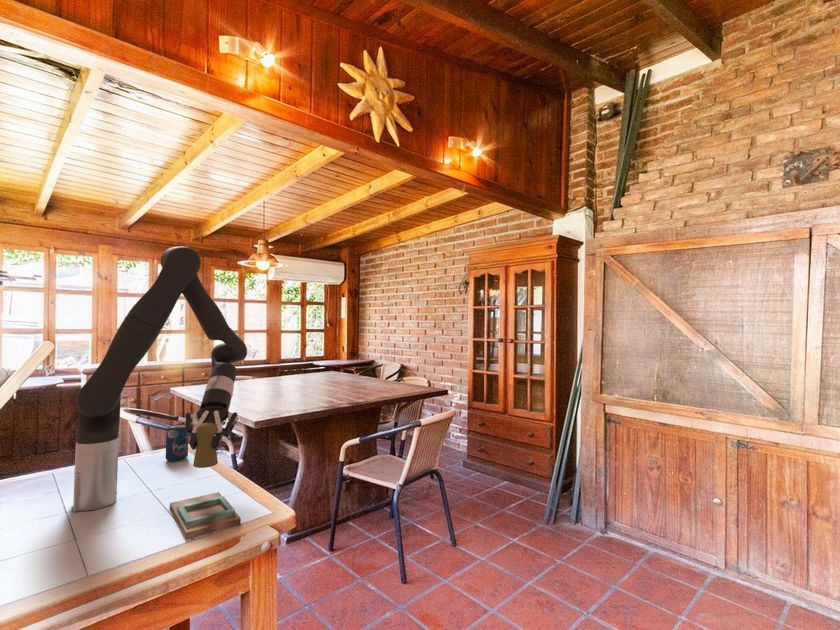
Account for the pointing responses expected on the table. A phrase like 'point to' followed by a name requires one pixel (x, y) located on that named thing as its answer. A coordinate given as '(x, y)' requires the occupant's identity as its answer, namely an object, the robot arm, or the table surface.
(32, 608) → the table surface
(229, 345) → the robot arm
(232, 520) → the holder plate
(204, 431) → the cork
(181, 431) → the soda can
